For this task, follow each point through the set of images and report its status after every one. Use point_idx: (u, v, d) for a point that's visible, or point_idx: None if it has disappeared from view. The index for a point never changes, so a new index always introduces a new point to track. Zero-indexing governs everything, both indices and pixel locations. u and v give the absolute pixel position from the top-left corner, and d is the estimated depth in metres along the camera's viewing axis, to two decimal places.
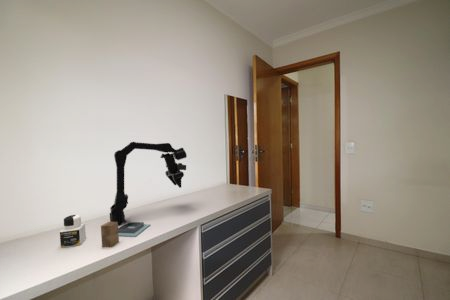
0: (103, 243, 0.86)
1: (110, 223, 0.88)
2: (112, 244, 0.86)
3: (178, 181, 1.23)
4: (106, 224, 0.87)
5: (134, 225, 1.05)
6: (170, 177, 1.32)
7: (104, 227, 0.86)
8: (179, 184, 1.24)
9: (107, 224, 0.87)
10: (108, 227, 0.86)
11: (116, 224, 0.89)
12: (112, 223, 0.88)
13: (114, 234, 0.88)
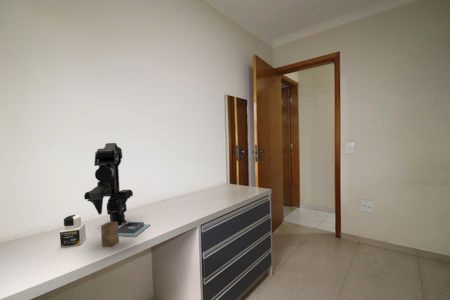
0: (103, 243, 0.86)
1: (110, 223, 0.88)
2: (112, 244, 0.86)
3: None
4: (106, 224, 0.87)
5: (134, 225, 1.05)
6: None
7: (104, 227, 0.86)
8: None
9: (107, 224, 0.87)
10: (108, 227, 0.86)
11: (116, 224, 0.89)
12: (112, 223, 0.88)
13: (114, 234, 0.88)
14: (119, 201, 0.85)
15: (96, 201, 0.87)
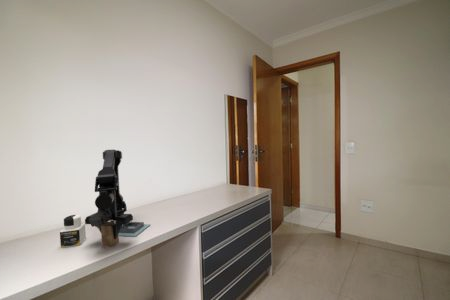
0: (103, 243, 0.86)
1: (110, 223, 0.88)
2: (112, 244, 0.86)
3: None
4: (106, 224, 0.87)
5: (134, 225, 1.05)
6: None
7: (104, 227, 0.86)
8: None
9: (107, 224, 0.87)
10: (108, 227, 0.86)
11: None
12: (112, 223, 0.88)
13: None
14: (115, 227, 0.85)
15: None
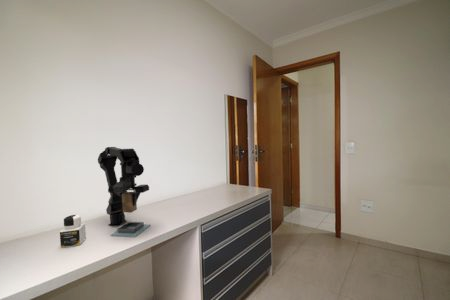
0: (124, 209, 0.99)
1: (129, 192, 1.02)
2: (131, 210, 0.99)
3: None
4: (126, 193, 1.01)
5: (134, 225, 1.05)
6: None
7: (125, 195, 0.99)
8: None
9: (127, 193, 1.01)
10: (128, 195, 0.99)
11: None
12: (131, 192, 1.01)
13: None
14: (134, 194, 0.98)
15: None
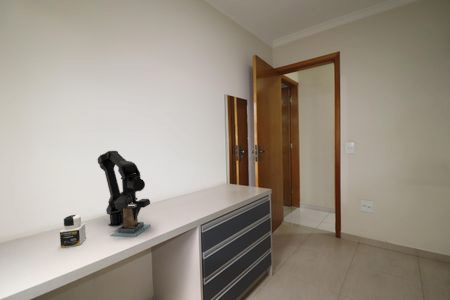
0: (125, 223, 1.00)
1: (130, 206, 1.02)
2: (132, 224, 1.00)
3: None
4: (127, 207, 1.01)
5: None
6: None
7: (126, 209, 1.00)
8: None
9: (128, 207, 1.01)
10: (129, 209, 0.99)
11: None
12: (132, 206, 1.02)
13: None
14: (135, 209, 0.99)
15: None
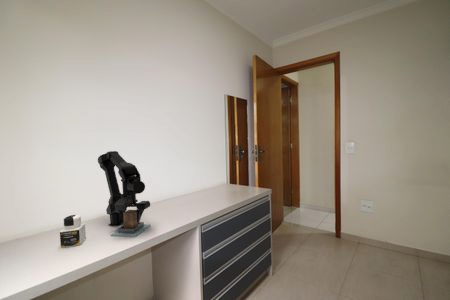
0: (125, 227, 1.00)
1: (131, 211, 1.02)
2: None
3: None
4: (127, 211, 1.01)
5: None
6: None
7: (126, 214, 1.00)
8: None
9: (128, 211, 1.01)
10: (130, 214, 0.99)
11: (136, 212, 1.03)
12: (132, 211, 1.02)
13: (134, 220, 1.01)
14: (138, 211, 0.99)
15: (120, 211, 1.01)
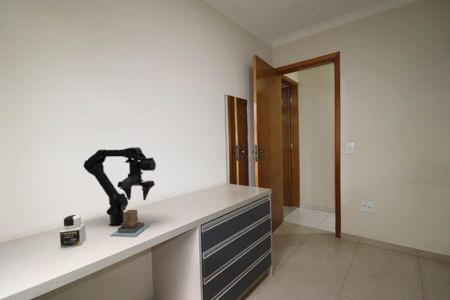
0: (125, 227, 1.00)
1: (131, 211, 1.02)
2: None
3: None
4: (127, 211, 1.01)
5: None
6: None
7: (126, 214, 1.00)
8: None
9: (128, 211, 1.01)
10: (130, 214, 0.99)
11: (136, 212, 1.03)
12: (132, 211, 1.02)
13: (134, 220, 1.01)
14: (144, 189, 1.06)
15: (126, 189, 1.10)
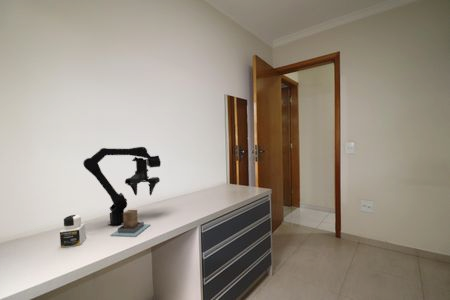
0: (125, 227, 1.00)
1: (131, 211, 1.02)
2: None
3: None
4: (127, 211, 1.01)
5: None
6: None
7: (126, 214, 1.00)
8: None
9: (128, 211, 1.01)
10: (130, 214, 0.99)
11: (136, 212, 1.03)
12: (132, 211, 1.02)
13: (134, 220, 1.01)
14: (151, 185, 1.16)
15: (133, 185, 1.19)
